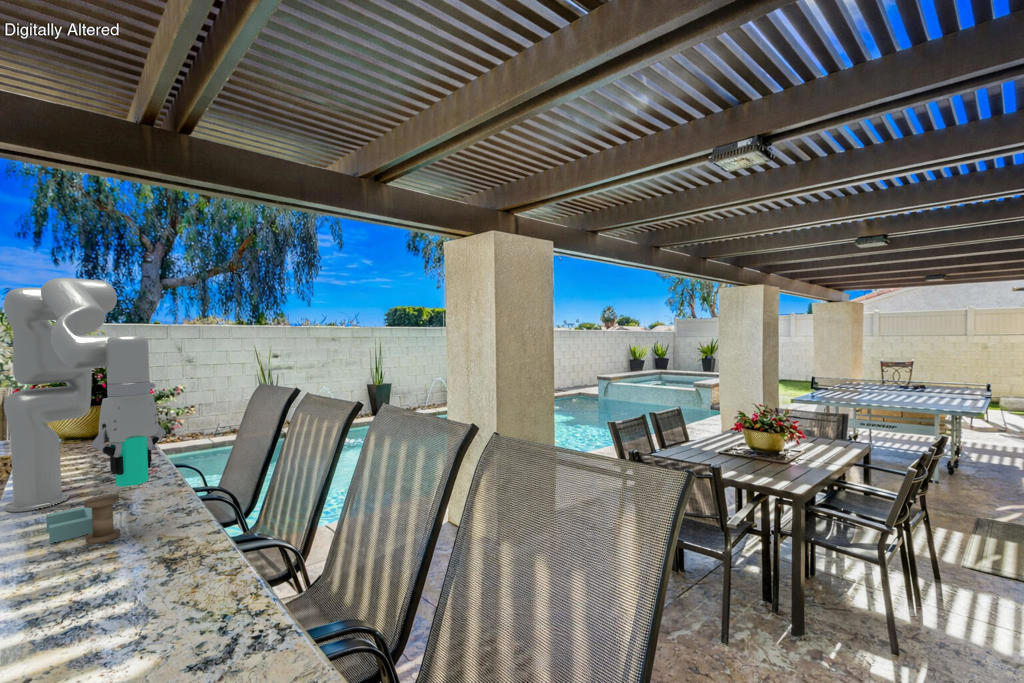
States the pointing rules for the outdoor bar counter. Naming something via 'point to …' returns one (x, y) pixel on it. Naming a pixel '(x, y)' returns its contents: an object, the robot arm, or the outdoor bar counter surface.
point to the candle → (134, 462)
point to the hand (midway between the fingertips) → (131, 469)
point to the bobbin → (102, 518)
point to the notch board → (69, 524)
